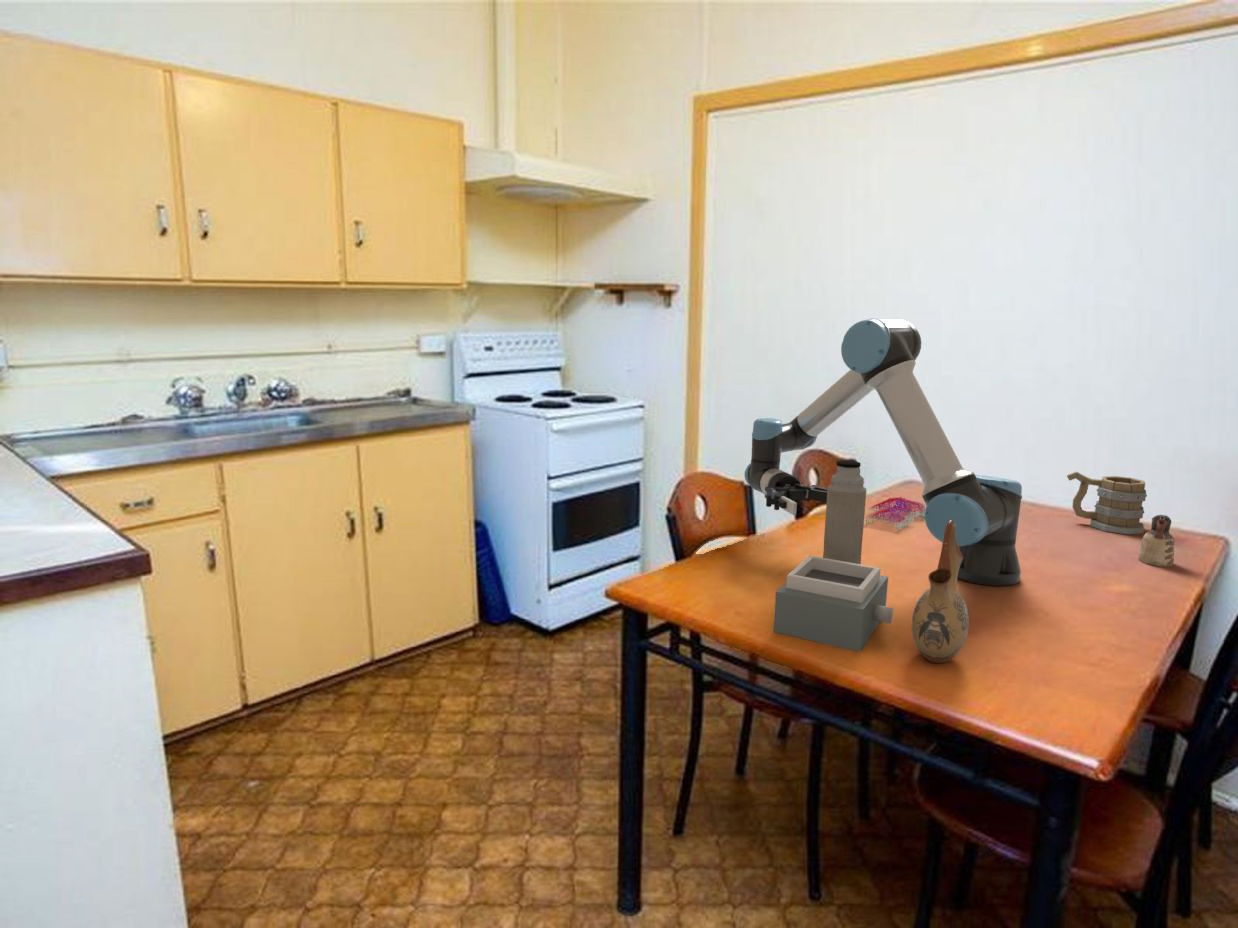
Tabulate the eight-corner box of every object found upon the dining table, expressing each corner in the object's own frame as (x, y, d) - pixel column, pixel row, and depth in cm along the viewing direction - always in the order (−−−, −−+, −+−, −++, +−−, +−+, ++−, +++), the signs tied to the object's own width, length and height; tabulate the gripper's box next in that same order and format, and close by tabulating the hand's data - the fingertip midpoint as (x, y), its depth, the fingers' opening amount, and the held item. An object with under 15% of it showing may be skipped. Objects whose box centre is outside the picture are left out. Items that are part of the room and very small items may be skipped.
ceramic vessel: (918, 635, 145) (931, 505, 140) (971, 646, 141) (986, 513, 136) (899, 668, 132) (912, 526, 127) (956, 682, 127) (972, 535, 122)
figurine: (1175, 562, 190) (1183, 514, 188) (1170, 568, 185) (1178, 520, 183) (1141, 555, 195) (1148, 509, 193) (1135, 562, 190) (1142, 514, 188)
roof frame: (902, 535, 211) (904, 517, 210) (849, 525, 220) (850, 507, 219) (939, 514, 233) (941, 497, 232) (890, 505, 243) (891, 489, 242)
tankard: (1142, 526, 222) (1150, 475, 219) (1143, 537, 212) (1151, 483, 209) (1062, 515, 232) (1069, 466, 229) (1059, 525, 222) (1066, 474, 219)
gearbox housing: (900, 618, 153) (905, 567, 151) (877, 655, 136) (882, 599, 134) (806, 598, 163) (809, 550, 161) (773, 631, 146) (776, 578, 144)
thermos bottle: (856, 582, 173) (866, 458, 168) (860, 594, 165) (870, 466, 160) (819, 579, 175) (828, 457, 169) (821, 591, 167) (830, 464, 161)
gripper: (824, 498, 200) (870, 520, 180) (734, 503, 194) (770, 526, 174) (826, 470, 198) (872, 488, 178) (735, 473, 192) (772, 493, 172)
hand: (822, 507), depth 176 cm, fingers open, 13 cm apart
